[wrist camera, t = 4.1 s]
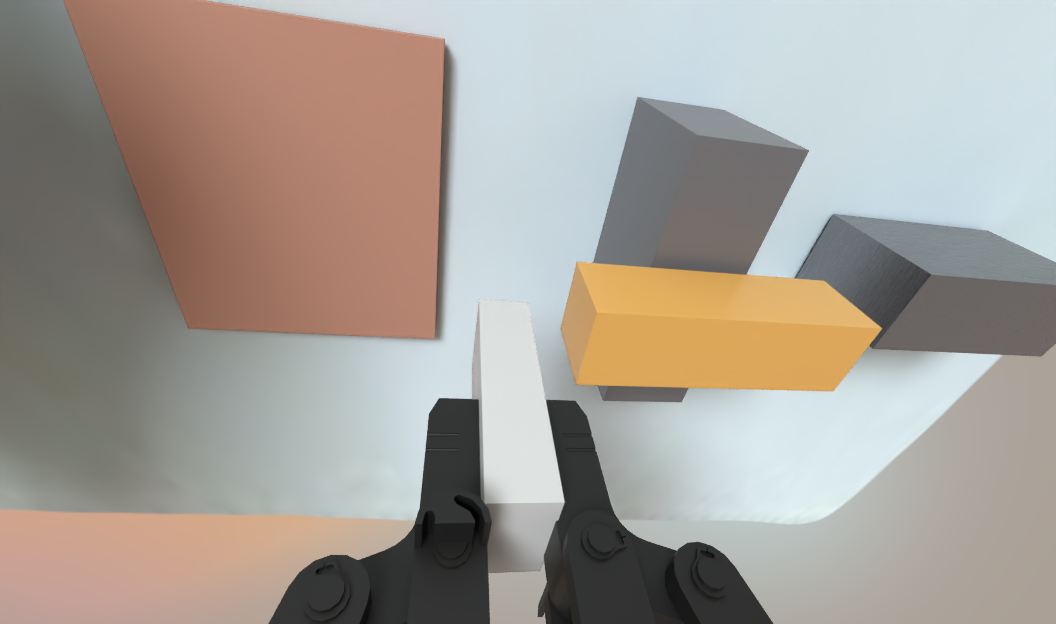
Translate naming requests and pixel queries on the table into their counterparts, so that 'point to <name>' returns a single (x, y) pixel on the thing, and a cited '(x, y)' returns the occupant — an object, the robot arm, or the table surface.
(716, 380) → the orange rectangular beam
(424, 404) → the table surface
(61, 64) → the table surface
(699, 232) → the tall gray pillar
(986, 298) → the gray rectangular box
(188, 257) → the mat
